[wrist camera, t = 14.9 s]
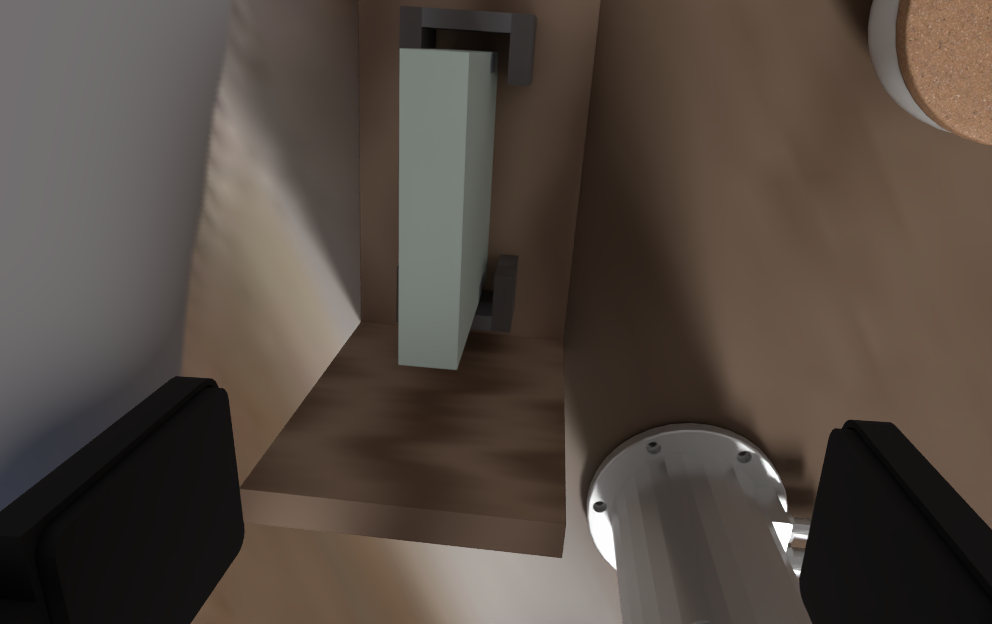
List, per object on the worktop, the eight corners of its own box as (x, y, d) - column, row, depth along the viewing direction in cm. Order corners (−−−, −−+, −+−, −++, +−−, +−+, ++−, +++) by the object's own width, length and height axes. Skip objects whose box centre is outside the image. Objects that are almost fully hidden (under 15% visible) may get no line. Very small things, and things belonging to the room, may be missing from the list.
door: (498, 51, 34) (469, 52, 23) (486, 277, 39) (457, 369, 27) (450, 49, 34) (398, 48, 23) (444, 274, 39) (398, 364, 28)
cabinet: (604, -51, 34) (650, -153, 17) (560, 353, 42) (561, 557, 25) (365, -66, 34) (180, -177, 17) (367, 335, 42) (241, 522, 25)
